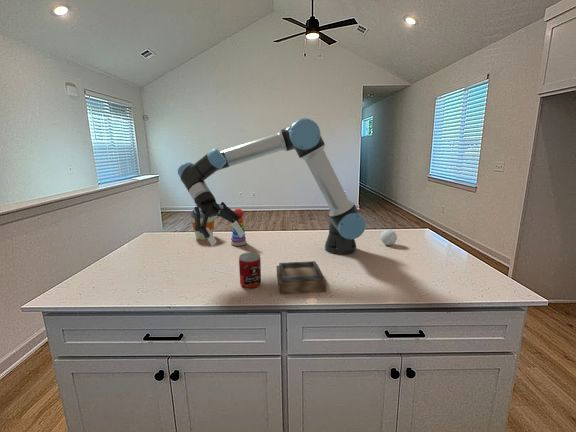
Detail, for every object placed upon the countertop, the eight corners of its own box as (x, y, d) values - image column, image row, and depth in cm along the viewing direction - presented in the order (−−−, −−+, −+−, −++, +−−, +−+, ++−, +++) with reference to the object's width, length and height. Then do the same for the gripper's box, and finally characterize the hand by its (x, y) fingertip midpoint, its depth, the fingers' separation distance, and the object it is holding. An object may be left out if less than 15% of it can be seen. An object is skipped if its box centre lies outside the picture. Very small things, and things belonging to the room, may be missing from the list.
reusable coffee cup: (189, 236, 172) (187, 210, 169) (210, 232, 179) (208, 207, 176) (197, 241, 162) (195, 214, 159) (219, 237, 170) (217, 211, 166)
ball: (379, 246, 153) (380, 230, 151) (380, 241, 160) (381, 227, 158) (396, 248, 150) (397, 232, 148) (397, 243, 157) (398, 228, 155)
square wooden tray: (316, 273, 121) (317, 260, 119) (325, 291, 105) (326, 276, 104) (276, 275, 119) (276, 262, 118) (279, 294, 104) (279, 279, 102)
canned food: (244, 291, 106) (243, 261, 104) (237, 282, 113) (235, 254, 111) (264, 286, 110) (263, 257, 107) (256, 278, 116) (255, 251, 114)
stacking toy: (243, 246, 154) (242, 210, 150) (228, 245, 155) (226, 210, 151) (248, 242, 161) (247, 207, 157) (234, 241, 163) (232, 207, 159)
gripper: (223, 198, 132) (248, 237, 126) (170, 207, 113) (197, 253, 107) (231, 187, 128) (257, 227, 122) (177, 194, 109) (205, 242, 103)
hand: (229, 239), depth 115 cm, fingers open, 13 cm apart
